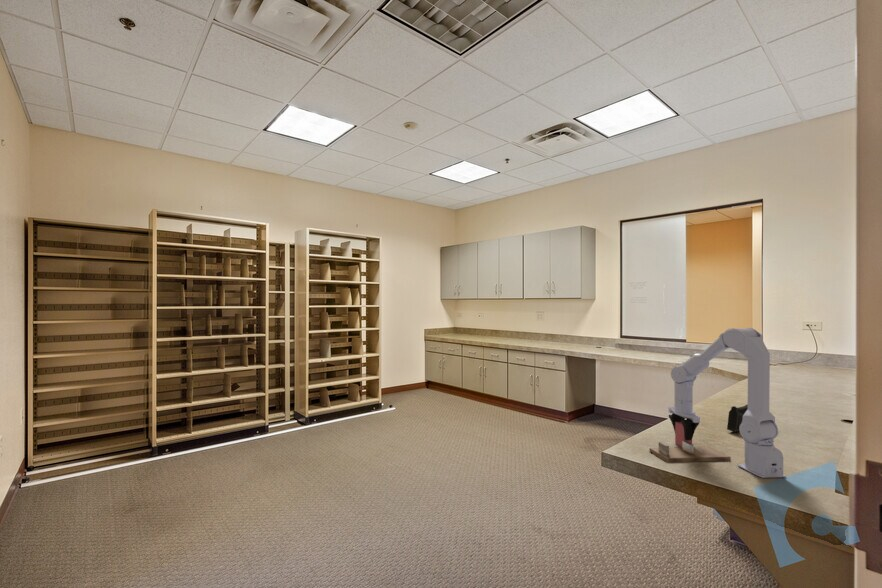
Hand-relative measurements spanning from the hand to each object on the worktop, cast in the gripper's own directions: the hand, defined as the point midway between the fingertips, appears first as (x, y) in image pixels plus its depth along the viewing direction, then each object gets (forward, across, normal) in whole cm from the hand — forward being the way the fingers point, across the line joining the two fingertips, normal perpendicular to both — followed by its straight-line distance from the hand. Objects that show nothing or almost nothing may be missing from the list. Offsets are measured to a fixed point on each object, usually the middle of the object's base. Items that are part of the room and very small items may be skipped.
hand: (683, 437), depth 156 cm
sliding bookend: (+2, -10, +5) cm, 11 cm away
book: (+3, 0, 0) cm, 3 cm away
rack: (+3, -10, +5) cm, 12 cm away
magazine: (+3, +21, -43) cm, 48 cm away
